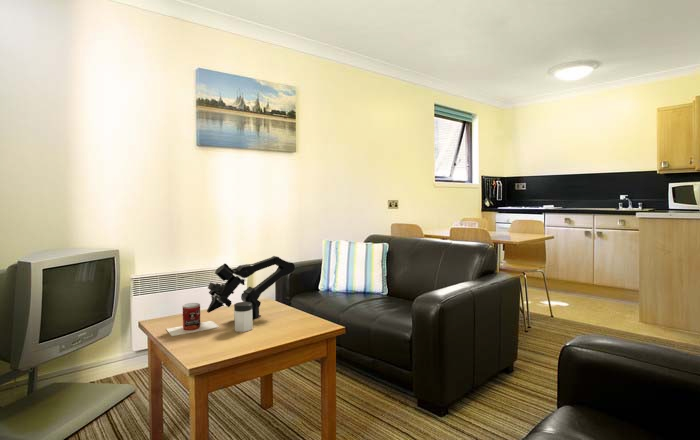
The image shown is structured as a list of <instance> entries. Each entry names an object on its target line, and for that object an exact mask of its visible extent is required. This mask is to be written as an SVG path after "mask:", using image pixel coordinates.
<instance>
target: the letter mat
mask: <svg viewBox="0 0 700 440" xmlns="http://www.w3.org/2000/svg"><path fill="white" fill-rule="evenodd" d="M218 328H220V326H219V325H218V324H216V322H214V321H213V320H208V321H202V322H200V328H198V329H195V330H184V329H183V325H181V326H175V327H167V328H166V329H165V330H166V331H167V332H168V333H169V335H170V336H171V337H176V336H182V335H186V334H192V333H197V332H201V331H203V332H204V331H207V330H211V329H212V330H213V329H218Z"/></svg>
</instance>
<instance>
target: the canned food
mask: <svg viewBox="0 0 700 440" xmlns="http://www.w3.org/2000/svg"><path fill="white" fill-rule="evenodd" d="M200 323H201V303H199V302H189V303H188V302H187V303H186V304H183V305H182V326H183V329H184V330H195V329H198V328H200Z"/></svg>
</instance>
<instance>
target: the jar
mask: <svg viewBox="0 0 700 440" xmlns="http://www.w3.org/2000/svg"><path fill="white" fill-rule="evenodd" d="M233 308H234V309H233V313H234V314H233V320H234V324H233V325H234V332H238V333H241V332H242V333H246V332H249V331H252V330H253V329H254V327H253V324H254V323H253V320H254V319H252V318H253V316H252V303H251V302H243V301H240V302H236V303H234V305H233Z"/></svg>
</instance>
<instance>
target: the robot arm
mask: <svg viewBox="0 0 700 440" xmlns="http://www.w3.org/2000/svg"><path fill="white" fill-rule="evenodd" d="M275 265H276V267H277V268H276V270H275V271H274V272H273V273H271V274H270V275H269V276H267V277H266V278H264V280H262V281H261V282H259V284H257V285H256V286H254V287H252V286H249V287H247V288H246V289H245V290H243V292H242V293H241V295H240V298H241V299H240V300H241V302H251V303H252V316H253V318H252V319H253V320H255V319H257V318H260V317H262V315H260V307H261V303H262V302H261V301H260V300H259V299H260V296H261V294H262V293H264V292H266V290H267V289H269V288H271V286H273V285H274V284H276V283H277V282H278V281H280V279H281V278H283V277H286V276H289V275H290V274H292V273H294V272H295V270H296V265H295V264H294V263H293V262H291V261H288V260H285V259H282V258H281V257H279V256H275V255H273V256H272V257H269V258H266V259H263V260H260V261H257V262H254V263H246V264H241V265H238V266H237V267H235V268H231V267H230V266H229V265H228V264H227V263H223V264H221V265H220V266H219V267H217V268H216V270H215V272H214V274H215V275H216V276H217V277H218V278H219V279H221V280H222V281H223V282H224V281H225V283H221V284H220V283H219V282H218V283H217V282H216V283H213V282H209V285H208V286H207V289H209V291H208V294H209V295H210V297H211V301H210V302H209V303H210V304H209V306H208V308H207V310H206V312H207V313H210V312H213V311H215V310H217V309H220V308H221V307H224V306H226V307H227V308H230V307H231V305H232V300H230V299H229V297H230V296H231V295H233V294H234V293H235V290H236V289H237V288H238V287H239V286H240V285H242V286H245V285H246V284H245V279H246V278H249V277H251V276H252V275H253V274H255V273H256V272H259V271H261V270H264V269H266V268H270V267H272V266H275Z"/></svg>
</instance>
